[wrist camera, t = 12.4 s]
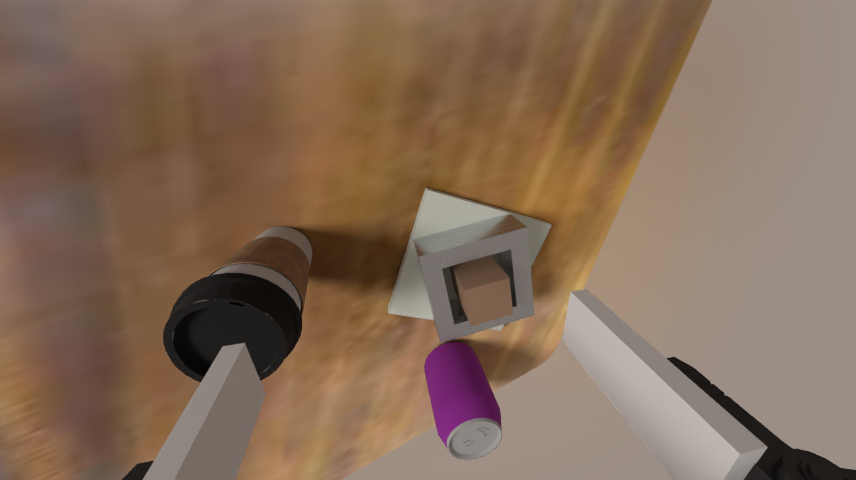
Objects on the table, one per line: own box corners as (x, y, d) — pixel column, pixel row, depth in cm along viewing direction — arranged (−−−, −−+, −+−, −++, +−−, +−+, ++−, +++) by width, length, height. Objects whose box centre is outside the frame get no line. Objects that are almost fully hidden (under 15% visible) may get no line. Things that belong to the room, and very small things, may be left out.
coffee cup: (334, 229, 33) (310, 312, 20) (312, 292, 36) (277, 404, 22) (251, 203, 31) (157, 277, 17) (234, 273, 33) (140, 386, 20)
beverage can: (443, 386, 46) (466, 472, 35) (412, 360, 43) (426, 445, 32) (484, 357, 45) (520, 436, 34) (455, 328, 42) (485, 405, 31)
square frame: (412, 239, 34) (418, 256, 30) (509, 213, 35) (527, 227, 31) (433, 318, 39) (440, 342, 35) (517, 294, 40) (534, 315, 36)
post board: (425, 187, 33) (441, 209, 26) (546, 221, 38) (590, 249, 30) (387, 307, 38) (392, 354, 31) (497, 325, 43) (524, 370, 35)
